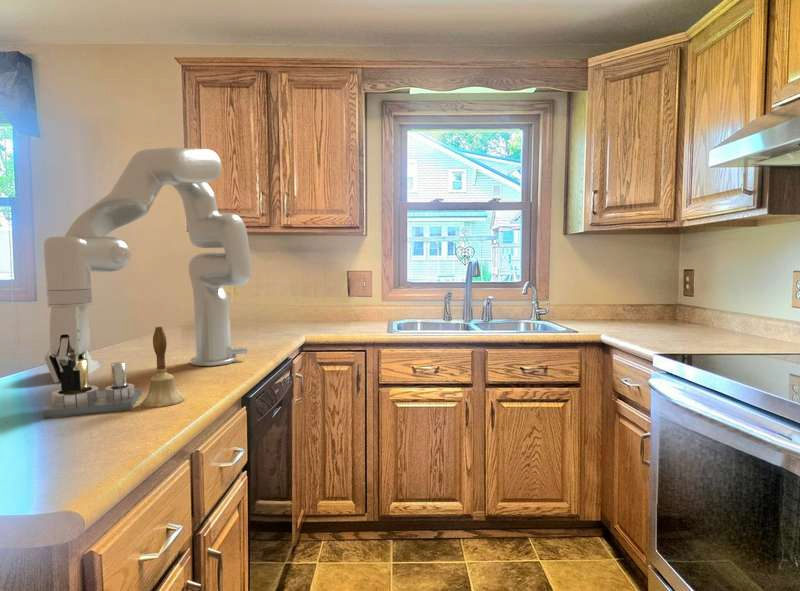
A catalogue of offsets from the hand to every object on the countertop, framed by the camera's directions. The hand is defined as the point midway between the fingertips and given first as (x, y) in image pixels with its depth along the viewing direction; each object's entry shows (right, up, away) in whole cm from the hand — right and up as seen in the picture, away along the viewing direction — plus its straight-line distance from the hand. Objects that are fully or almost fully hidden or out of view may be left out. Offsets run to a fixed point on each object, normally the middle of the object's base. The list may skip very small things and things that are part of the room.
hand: (75, 386), depth 102 cm
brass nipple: (0, -3, 0) cm, 3 cm away
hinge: (-19, -3, +29) cm, 35 cm away
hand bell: (+16, -4, +4) cm, 17 cm away
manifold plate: (+3, -4, +1) cm, 5 cm away
